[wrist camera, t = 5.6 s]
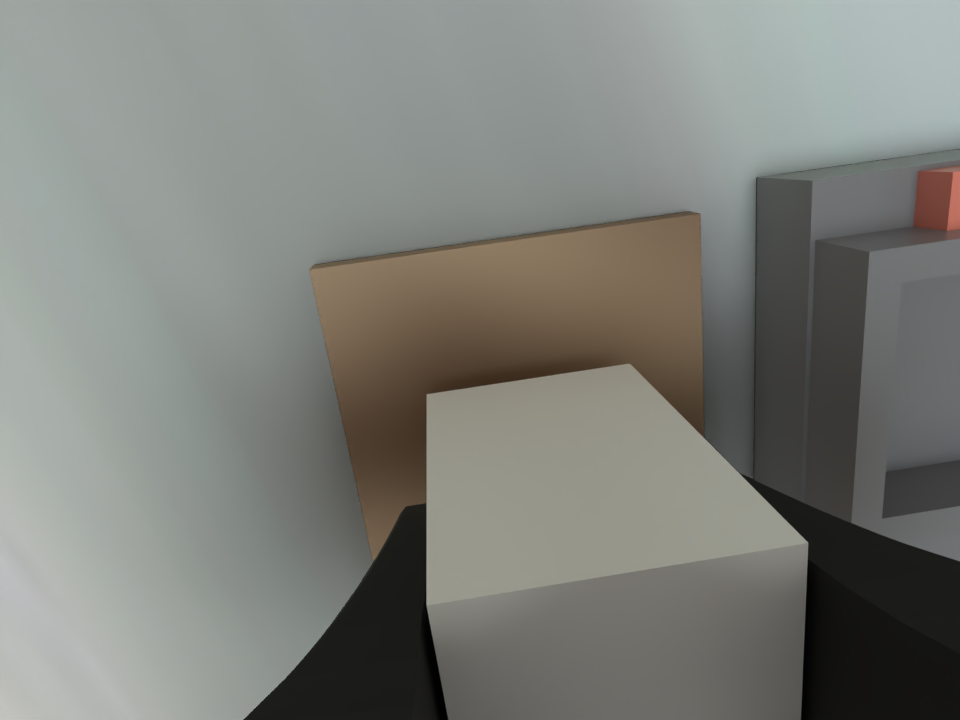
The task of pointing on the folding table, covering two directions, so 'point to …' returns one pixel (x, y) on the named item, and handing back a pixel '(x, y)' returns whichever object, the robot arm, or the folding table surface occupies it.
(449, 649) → the block
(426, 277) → the walnut board
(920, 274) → the power strip
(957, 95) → the folding table surface
